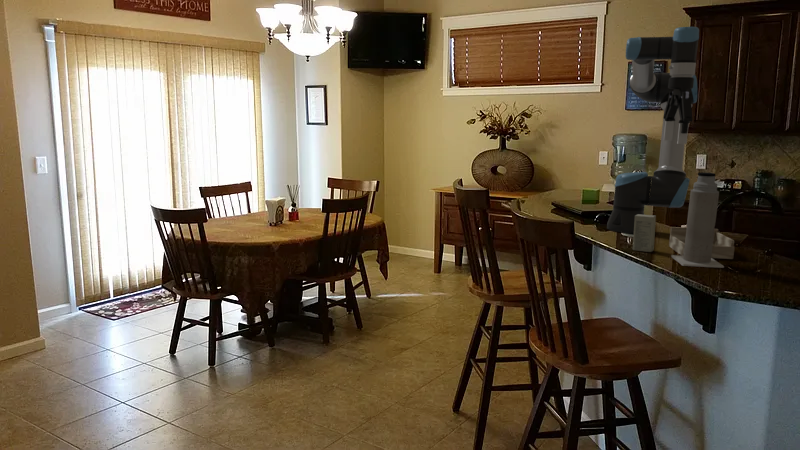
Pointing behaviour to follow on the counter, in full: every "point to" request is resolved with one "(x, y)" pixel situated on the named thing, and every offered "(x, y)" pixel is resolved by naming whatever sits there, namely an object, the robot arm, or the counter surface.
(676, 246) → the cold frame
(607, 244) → the counter surface
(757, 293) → the counter surface
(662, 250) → the counter surface
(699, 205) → the thermos bottle
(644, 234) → the skincare box
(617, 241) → the counter surface
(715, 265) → the ceramic tile
